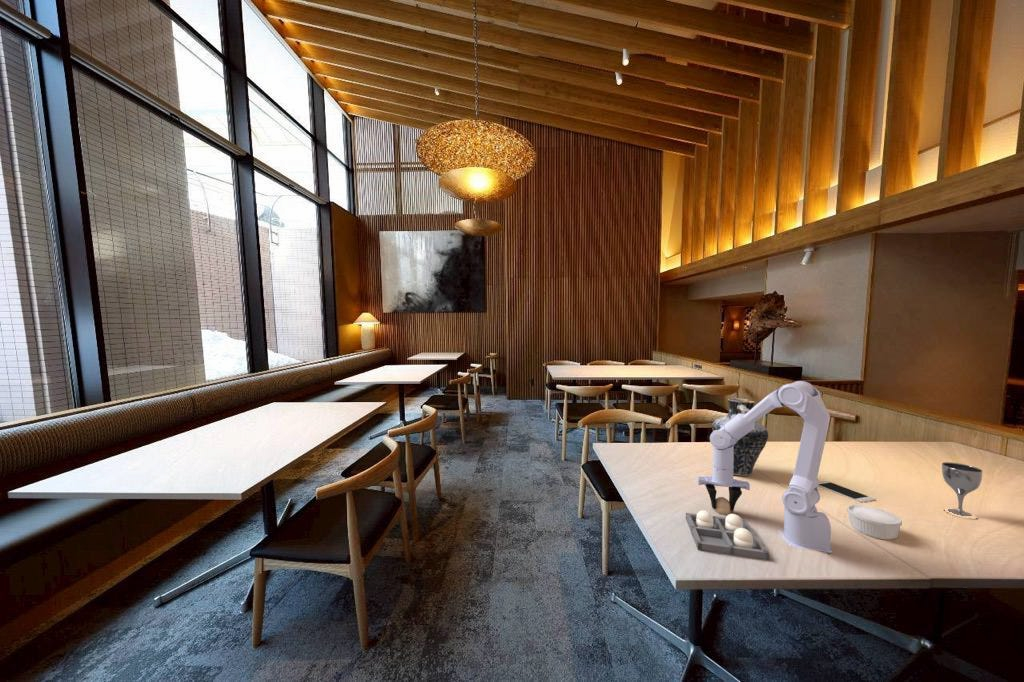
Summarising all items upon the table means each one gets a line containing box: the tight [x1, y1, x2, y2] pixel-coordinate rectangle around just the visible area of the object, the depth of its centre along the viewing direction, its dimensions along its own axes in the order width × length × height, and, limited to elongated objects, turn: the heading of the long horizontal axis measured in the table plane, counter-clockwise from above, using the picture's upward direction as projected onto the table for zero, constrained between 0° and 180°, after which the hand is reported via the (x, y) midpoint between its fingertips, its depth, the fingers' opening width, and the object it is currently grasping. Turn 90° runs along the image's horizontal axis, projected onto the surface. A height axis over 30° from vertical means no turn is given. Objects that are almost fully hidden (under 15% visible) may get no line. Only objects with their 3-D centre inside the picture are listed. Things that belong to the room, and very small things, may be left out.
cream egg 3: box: [734, 528, 753, 549], centre depth 95 cm, size 4×4×5 cm
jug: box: [711, 397, 769, 477], centre depth 146 cm, size 21×19×30 cm
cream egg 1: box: [696, 509, 713, 529], centre depth 105 cm, size 4×4×5 cm
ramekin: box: [846, 504, 903, 541], centre depth 104 cm, size 11×11×5 cm
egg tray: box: [685, 512, 770, 561], centre depth 100 cm, size 16×16×2 cm
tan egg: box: [713, 496, 731, 516], centre depth 114 cm, size 4×4×5 cm
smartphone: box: [818, 480, 877, 504], centre depth 129 cm, size 7×16×1 cm, turn 14°
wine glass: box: [941, 461, 983, 516], centre depth 113 cm, size 8×8×15 cm
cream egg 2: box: [725, 513, 743, 531], centre depth 103 cm, size 4×4×5 cm
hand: (722, 508), depth 115 cm, fingers closed on tan egg, 4 cm apart
